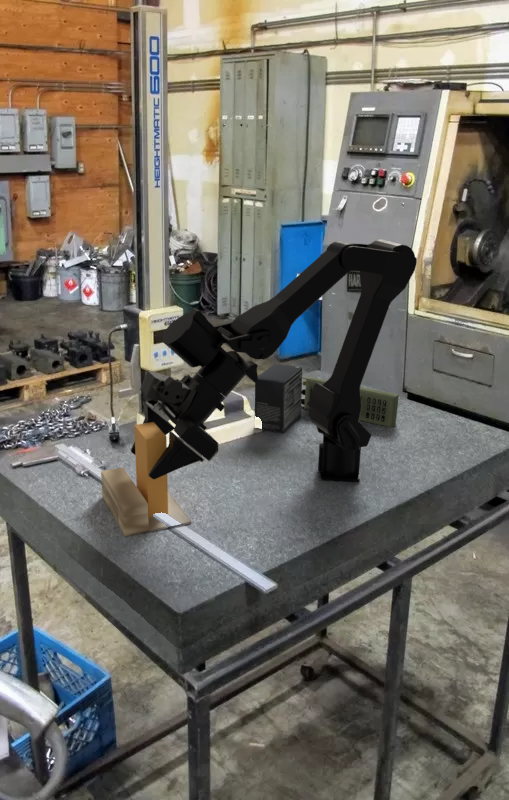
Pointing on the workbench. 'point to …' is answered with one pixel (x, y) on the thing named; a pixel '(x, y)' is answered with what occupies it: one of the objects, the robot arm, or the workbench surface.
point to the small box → (278, 397)
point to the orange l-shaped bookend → (150, 466)
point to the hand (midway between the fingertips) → (141, 464)
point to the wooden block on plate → (134, 504)
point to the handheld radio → (364, 403)
